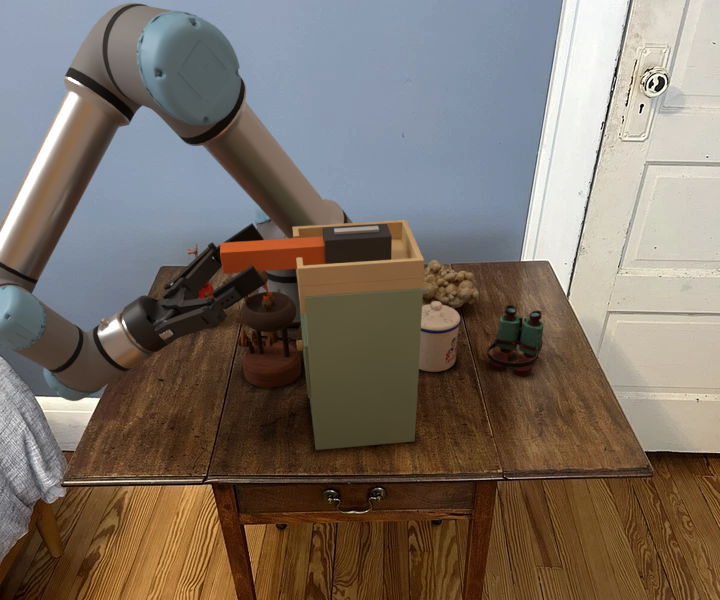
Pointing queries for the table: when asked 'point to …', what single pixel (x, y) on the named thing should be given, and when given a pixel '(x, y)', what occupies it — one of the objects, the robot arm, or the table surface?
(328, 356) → the drawer stand
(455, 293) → the mineral formation
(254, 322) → the music box
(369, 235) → the bar
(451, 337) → the teacup with lid
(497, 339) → the binoculars
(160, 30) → the robot arm
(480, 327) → the table surface
